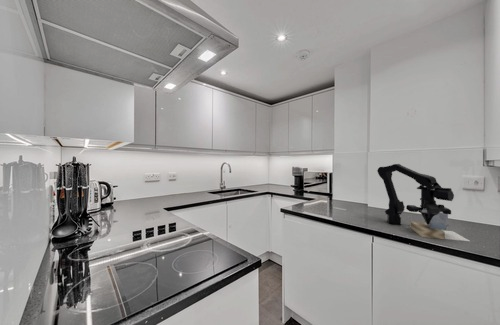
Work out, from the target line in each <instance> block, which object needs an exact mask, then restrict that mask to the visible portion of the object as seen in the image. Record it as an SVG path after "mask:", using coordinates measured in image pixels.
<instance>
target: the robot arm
mask: <svg viewBox="0 0 500 325" xmlns="http://www.w3.org/2000/svg"><path fill="white" fill-rule="evenodd" d="M376 171H377V174H378V176H379V177H380V179H382V181H383V184H384V187H385V190H386V193H387V197H388V209H386V210H385V211H384V213H385V215H387V217H386V218H387V219H386V222H387V224H389V225H395V226H402V224H401V222H402V220H401V219H402V217H401V215H402V213H404V211H405V209H406V210H407V211H409V212H410V213H411V212H413V213H417V212H418V213H420V214H421V216H422V218H423V220H424V223H426V224H429V223H430V221H432V218H433V216H435V215H438V214H439V213H440V212H443V213H444V214H448V215H452V210H451V209H450V208H448V207H445V205H444V204H437V202H436V200H442V201H448V202H449V201H450V202H452V201H453V200H454V198H455V194H454V191H452V188H451V187H442V186H441V185H440V184H439V183H438V181H437V178H436V177H435V176H432V175H429V174H424V173H420V172H418V171H416V170H413V169H410V168H408V167H406V166H404V165H402V164H400V163H394V164H391V165H387V166H379V167H378V168H377V170H376ZM396 171H397V172H398V173H400V174H403V175H404V176H406V177H409V178H411V179H413V180H414V181H415V182H416V183H418V184H419V186H417V187H416V189H417V190H420V198H419V200H420V205H419V206H417V205H414V204H413V205H412V204H407V205H406V206H405V204H404V201H401V200H400V199H399V196H398V195H397V193H396V189H395V186H394V183H393V180H392V179H393V177H392V176H393V173H394V172H396ZM435 198H436V200H435ZM405 207H406V208H405Z"/></svg>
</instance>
